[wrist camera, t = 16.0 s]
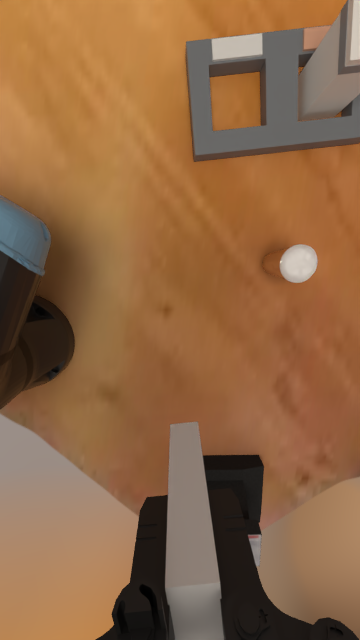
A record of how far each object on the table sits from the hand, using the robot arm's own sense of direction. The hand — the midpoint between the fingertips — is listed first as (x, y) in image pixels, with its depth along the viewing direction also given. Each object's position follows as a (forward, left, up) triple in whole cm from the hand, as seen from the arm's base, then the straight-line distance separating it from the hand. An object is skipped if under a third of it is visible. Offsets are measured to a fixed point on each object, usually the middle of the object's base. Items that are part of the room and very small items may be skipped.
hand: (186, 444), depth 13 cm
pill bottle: (+15, +8, -27) cm, 32 cm away
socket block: (+16, +29, -26) cm, 42 cm away
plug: (+22, +29, -26) cm, 45 cm away
